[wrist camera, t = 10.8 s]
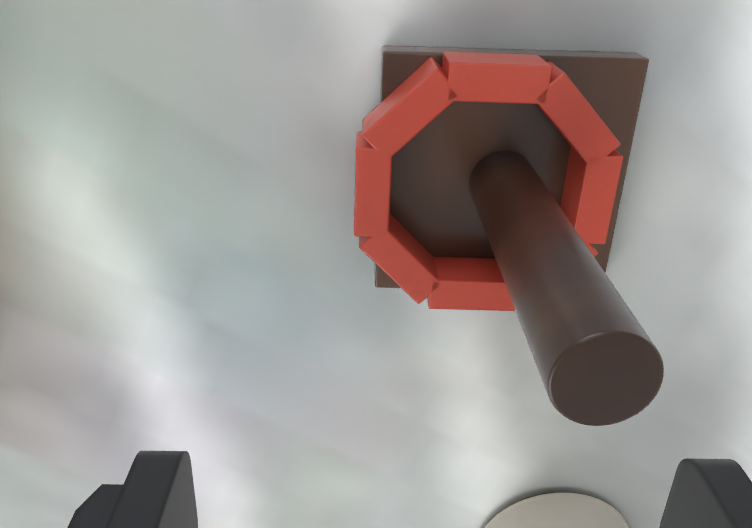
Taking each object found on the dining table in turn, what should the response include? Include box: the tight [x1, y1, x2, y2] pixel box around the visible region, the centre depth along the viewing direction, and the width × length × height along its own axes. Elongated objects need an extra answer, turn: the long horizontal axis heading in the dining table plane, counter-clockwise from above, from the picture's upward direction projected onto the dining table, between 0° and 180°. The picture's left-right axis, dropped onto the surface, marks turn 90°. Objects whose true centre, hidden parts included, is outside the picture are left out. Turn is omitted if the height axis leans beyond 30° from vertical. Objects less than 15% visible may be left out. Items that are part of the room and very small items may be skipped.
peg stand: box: [375, 46, 664, 426], centre depth 20 cm, size 9×9×13 cm
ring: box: [354, 51, 623, 311], centre depth 24 cm, size 9×9×2 cm
